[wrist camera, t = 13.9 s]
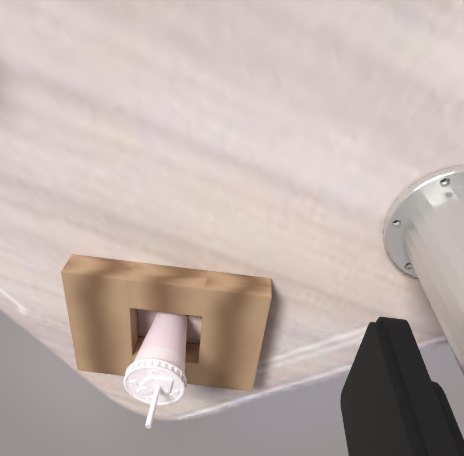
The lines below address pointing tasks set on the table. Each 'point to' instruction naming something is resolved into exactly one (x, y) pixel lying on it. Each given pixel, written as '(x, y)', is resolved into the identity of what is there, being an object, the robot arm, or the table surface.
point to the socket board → (172, 301)
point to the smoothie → (160, 364)
